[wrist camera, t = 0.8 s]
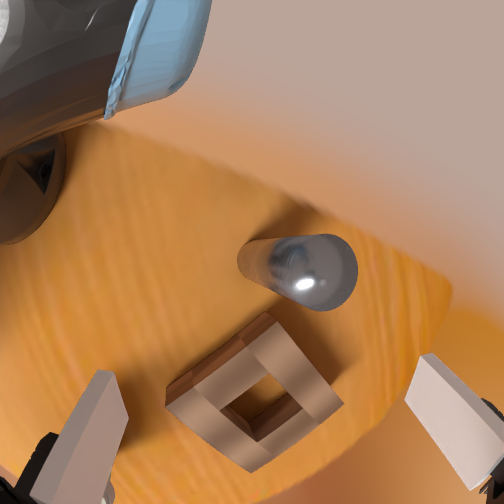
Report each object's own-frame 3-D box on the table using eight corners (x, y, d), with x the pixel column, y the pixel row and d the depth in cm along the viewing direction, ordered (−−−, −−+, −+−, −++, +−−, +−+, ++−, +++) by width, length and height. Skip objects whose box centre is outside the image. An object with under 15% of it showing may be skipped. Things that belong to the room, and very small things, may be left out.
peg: (229, 256, 27) (274, 267, 14) (261, 231, 28) (332, 218, 14) (253, 289, 28) (318, 326, 14) (284, 263, 29) (369, 277, 15)
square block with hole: (166, 387, 26) (165, 407, 22) (264, 311, 28) (277, 321, 24) (243, 452, 28) (250, 473, 24) (327, 388, 30) (344, 403, 26)
